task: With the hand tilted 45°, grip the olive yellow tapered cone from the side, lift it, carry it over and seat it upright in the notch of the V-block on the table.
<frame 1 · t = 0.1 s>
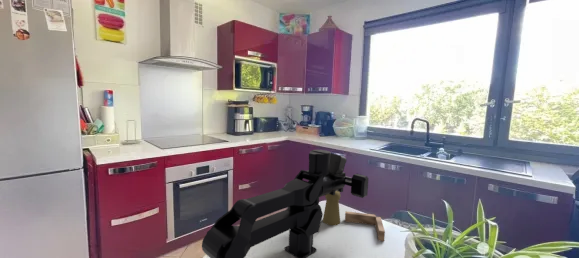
hand: (353, 175, 88), 17 cm above the table, tool horizontal, fingers open, 9 cm apart
olive yellow tapered cone: (331, 221, 90), on the table
v block: (364, 228, 86), on the table
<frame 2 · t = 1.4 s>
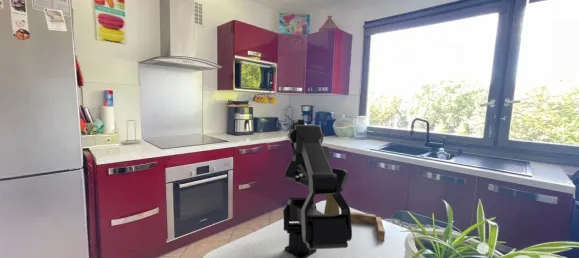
hand: (323, 188, 83), 14 cm above the table, tool tilted 45°, fingers open, 9 cm apart
nothing on the table moved.
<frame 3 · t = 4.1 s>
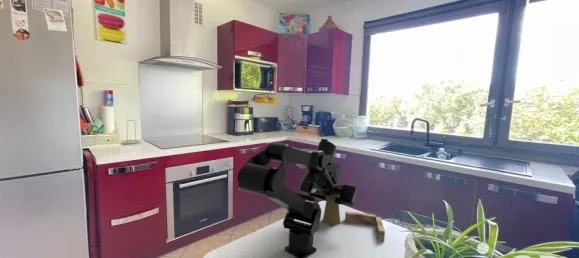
hand: (334, 201, 91), 7 cm above the table, tool tilted 45°, fingers closed on olive yellow tapered cone, 5 cm apart
olive yellow tapered cone: (331, 221, 90), on the table, touching gripper
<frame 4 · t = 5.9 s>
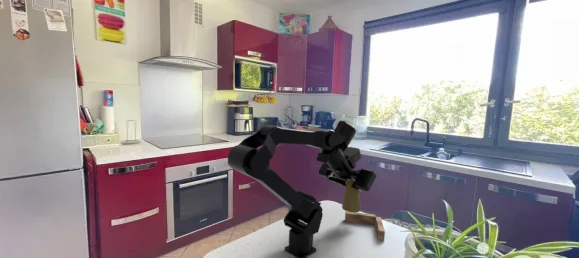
hand: (355, 188, 87), 12 cm above the table, tool tilted 45°, fingers closed on olive yellow tapered cone, 5 cm apart
olive yellow tapered cone: (351, 209, 87), point 6 cm above the table, touching gripper
when the fingers open (8 cm above the table, at t = 7.7 s): olive yellow tapered cone stays where it is, on the table.
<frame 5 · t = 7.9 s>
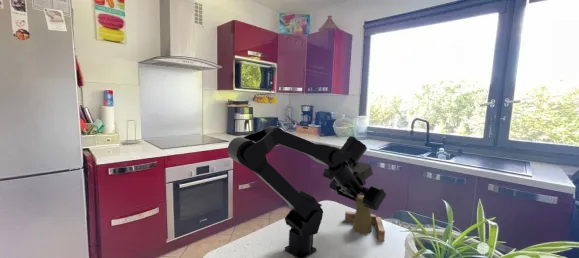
hand: (367, 204, 85), 8 cm above the table, tool tilted 45°, fingers open, 8 cm apart
olive yellow tapered cone: (362, 230, 85), on the table
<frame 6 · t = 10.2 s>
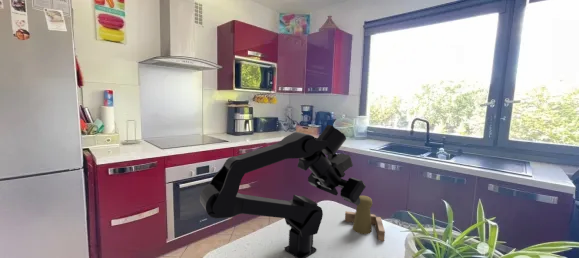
hand: (347, 198, 80), 12 cm above the table, tool tilted 45°, fingers open, 9 cm apart
nothing on the table moved.
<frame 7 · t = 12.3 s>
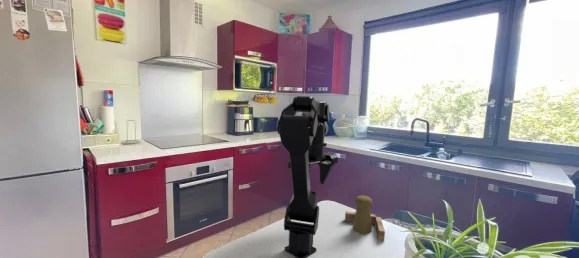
hand: (313, 186, 86), 13 cm above the table, tool pointing down, fingers open, 9 cm apart
nothing on the table moved.
at the end: olive yellow tapered cone 0.4 cm from the target spot on the v block, point 0.0 cm above the v block's base; olive yellow tapered cone tilted 0°; the gripper is holding nothing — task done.
